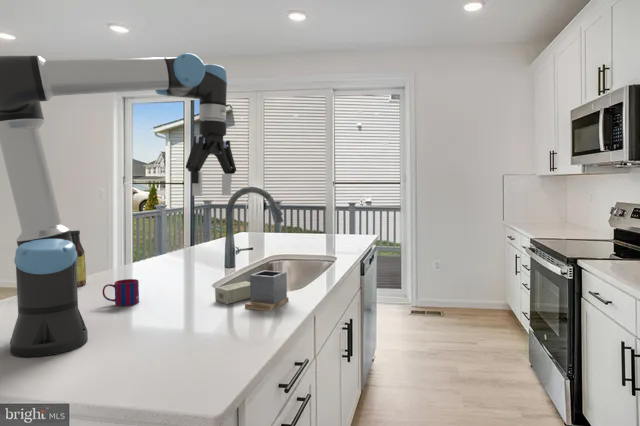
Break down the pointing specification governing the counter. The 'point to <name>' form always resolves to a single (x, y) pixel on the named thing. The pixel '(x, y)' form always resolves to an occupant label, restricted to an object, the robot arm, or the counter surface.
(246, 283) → the skincare box
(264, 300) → the hollow grey cube box
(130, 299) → the mug
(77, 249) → the sauce bottle
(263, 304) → the block
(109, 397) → the counter surface
